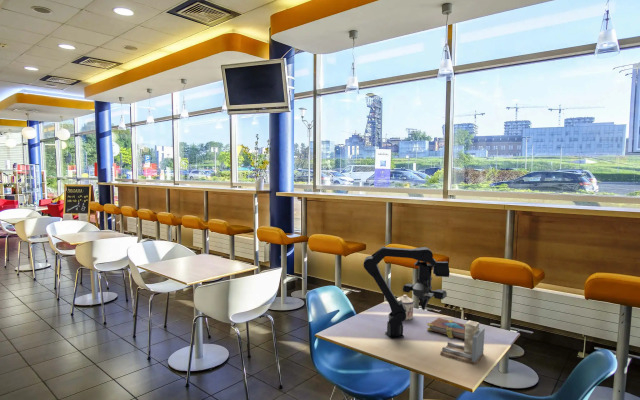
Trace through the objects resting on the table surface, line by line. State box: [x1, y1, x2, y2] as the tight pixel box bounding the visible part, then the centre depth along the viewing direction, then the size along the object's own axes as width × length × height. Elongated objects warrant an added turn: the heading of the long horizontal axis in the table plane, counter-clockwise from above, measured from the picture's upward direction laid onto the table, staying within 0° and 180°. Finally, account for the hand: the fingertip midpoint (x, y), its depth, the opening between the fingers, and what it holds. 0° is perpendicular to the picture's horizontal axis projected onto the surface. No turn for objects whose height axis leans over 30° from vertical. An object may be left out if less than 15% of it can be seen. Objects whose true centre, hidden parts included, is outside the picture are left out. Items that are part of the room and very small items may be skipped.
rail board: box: [439, 341, 484, 365], centre depth 164 cm, size 14×12×2 cm
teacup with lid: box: [396, 294, 414, 321], centre depth 207 cm, size 12×9×12 cm
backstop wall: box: [472, 327, 485, 362], centre depth 160 cm, size 2×12×10 cm, turn 144°
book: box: [426, 317, 481, 340], centre depth 188 cm, size 16×25×5 cm, turn 52°
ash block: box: [463, 319, 480, 355], centre depth 162 cm, size 4×5×13 cm
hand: (423, 309), depth 179 cm, fingers closed
